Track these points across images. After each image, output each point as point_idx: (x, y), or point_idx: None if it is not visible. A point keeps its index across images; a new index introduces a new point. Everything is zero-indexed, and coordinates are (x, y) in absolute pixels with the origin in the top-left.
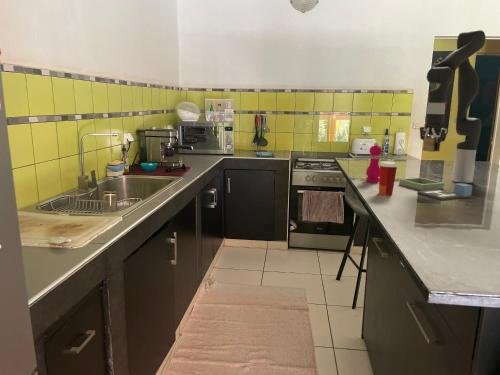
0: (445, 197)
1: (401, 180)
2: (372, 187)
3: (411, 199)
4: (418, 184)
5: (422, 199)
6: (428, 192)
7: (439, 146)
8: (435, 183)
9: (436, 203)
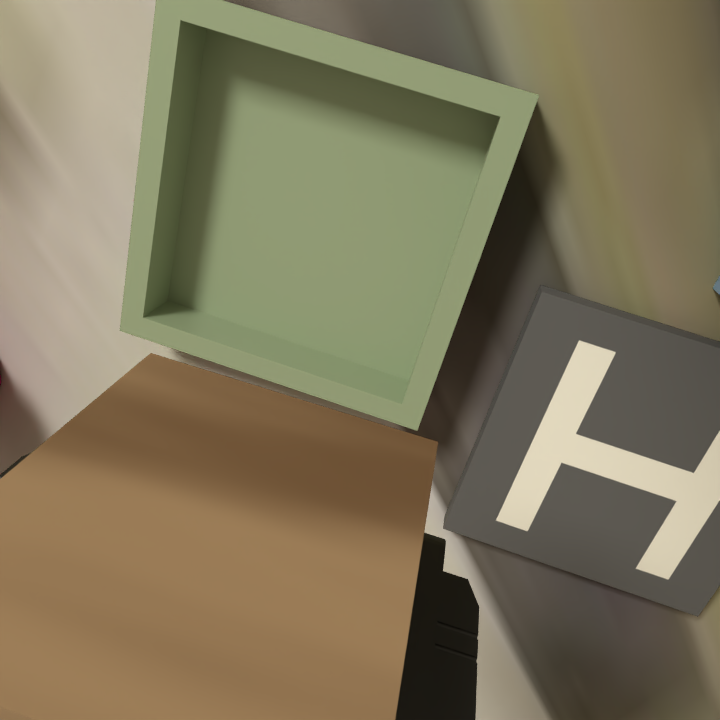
0: (716, 579)
1: (150, 335)
2: None
3: (506, 706)
4: (368, 409)
5: (562, 662)
6: (530, 505)
7: (473, 665)
8: (476, 233)
9: (687, 703)
